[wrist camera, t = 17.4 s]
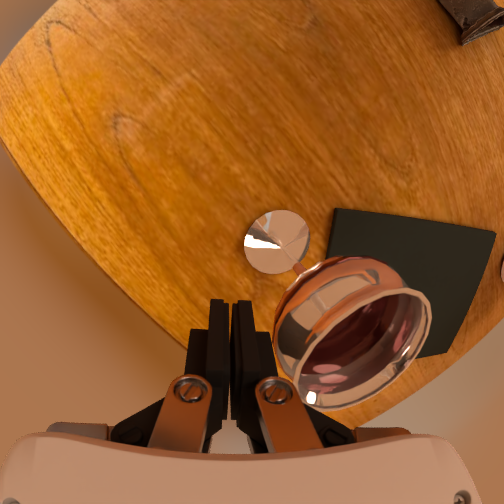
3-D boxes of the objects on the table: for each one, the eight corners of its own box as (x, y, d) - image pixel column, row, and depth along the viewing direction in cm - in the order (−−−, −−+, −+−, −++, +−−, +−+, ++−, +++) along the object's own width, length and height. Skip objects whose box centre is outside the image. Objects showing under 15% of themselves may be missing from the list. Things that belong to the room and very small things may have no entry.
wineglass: (223, 280, 21) (269, 421, 10) (242, 189, 19) (329, 281, 8) (306, 287, 23) (388, 399, 13) (331, 206, 21) (454, 288, 10)
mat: (298, 367, 27) (299, 371, 26) (334, 207, 20) (337, 209, 20) (444, 349, 29) (446, 352, 29) (493, 231, 23) (496, 233, 22)
